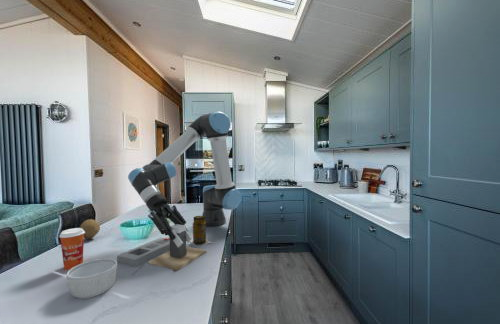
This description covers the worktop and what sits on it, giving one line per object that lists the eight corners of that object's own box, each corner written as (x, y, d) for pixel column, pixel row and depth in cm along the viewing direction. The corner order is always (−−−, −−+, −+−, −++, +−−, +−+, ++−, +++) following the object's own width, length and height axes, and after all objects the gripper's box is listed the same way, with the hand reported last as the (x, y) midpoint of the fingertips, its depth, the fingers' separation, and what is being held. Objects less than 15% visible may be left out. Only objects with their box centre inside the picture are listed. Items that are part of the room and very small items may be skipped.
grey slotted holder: (160, 243, 113) (160, 236, 113) (177, 246, 109) (177, 239, 109) (117, 263, 93) (117, 254, 93) (135, 267, 89) (134, 258, 89)
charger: (177, 252, 100) (176, 224, 99) (186, 254, 97) (185, 225, 97) (170, 256, 96) (169, 226, 96) (179, 258, 94) (178, 228, 93)
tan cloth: (180, 247, 108) (180, 245, 108) (206, 252, 102) (206, 250, 102) (147, 264, 92) (147, 261, 92) (176, 271, 86) (176, 268, 86)
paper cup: (58, 274, 85) (56, 235, 85) (63, 265, 92) (61, 229, 92) (84, 269, 89) (83, 231, 88) (87, 261, 96) (86, 226, 95)
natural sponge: (104, 237, 124) (103, 218, 123) (86, 243, 116) (85, 222, 116) (94, 235, 128) (93, 216, 128) (75, 240, 120) (74, 220, 120)
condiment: (202, 238, 120) (202, 214, 119) (211, 242, 113) (210, 217, 113) (189, 241, 115) (188, 216, 115) (197, 246, 109) (196, 220, 108)
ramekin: (61, 306, 67) (60, 281, 67) (74, 283, 79) (73, 262, 79) (115, 294, 72) (114, 271, 72) (119, 274, 84) (119, 255, 84)
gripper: (165, 200, 111) (194, 241, 104) (131, 209, 95) (163, 257, 88) (173, 189, 108) (204, 230, 102) (140, 196, 92) (174, 244, 86)
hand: (185, 242), depth 95 cm, fingers open, 5 cm apart
